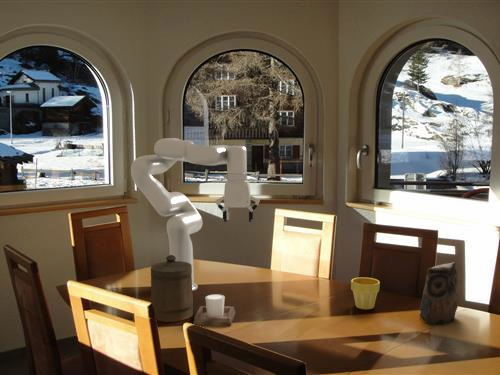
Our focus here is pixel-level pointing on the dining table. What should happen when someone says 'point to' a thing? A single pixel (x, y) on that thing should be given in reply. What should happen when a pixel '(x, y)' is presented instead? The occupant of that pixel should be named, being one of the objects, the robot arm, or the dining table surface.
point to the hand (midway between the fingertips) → (238, 221)
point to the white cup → (215, 305)
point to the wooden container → (172, 290)
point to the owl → (440, 295)
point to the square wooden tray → (214, 321)
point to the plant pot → (365, 292)
